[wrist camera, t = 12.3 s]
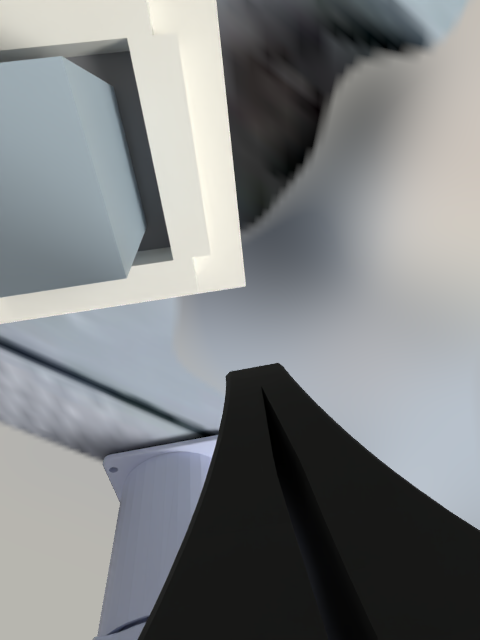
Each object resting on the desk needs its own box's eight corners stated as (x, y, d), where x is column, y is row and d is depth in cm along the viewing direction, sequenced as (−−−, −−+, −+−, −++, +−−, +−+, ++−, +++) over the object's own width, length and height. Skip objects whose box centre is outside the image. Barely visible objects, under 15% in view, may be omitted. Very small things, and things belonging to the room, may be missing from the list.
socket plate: (244, 282, 17) (252, 304, 15) (-3, 320, 17) (-31, 348, 14) (209, -50, 11) (215, -92, 9) (-178, -18, 11) (-272, -55, 8)
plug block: (147, 225, 15) (126, 278, 10) (51, 239, 15) (-22, 301, 9) (113, 86, 12) (61, 55, 7) (-2, 100, 12) (-143, 78, 7)
